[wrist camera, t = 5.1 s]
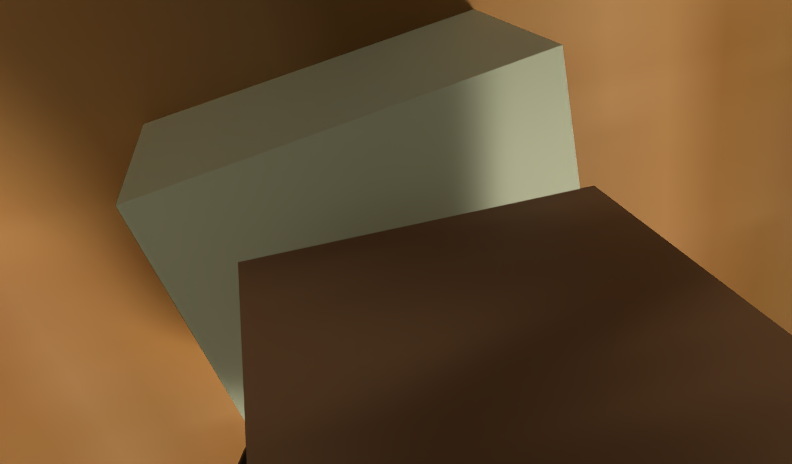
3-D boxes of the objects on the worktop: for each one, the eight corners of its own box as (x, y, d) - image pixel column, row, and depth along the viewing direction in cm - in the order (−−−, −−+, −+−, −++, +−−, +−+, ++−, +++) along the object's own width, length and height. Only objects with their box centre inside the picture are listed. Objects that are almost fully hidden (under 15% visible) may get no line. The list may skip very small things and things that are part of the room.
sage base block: (469, 7, 13) (562, 45, 9) (520, 269, 16) (601, 366, 13) (145, 120, 12) (114, 205, 9) (273, 366, 16) (289, 494, 12)
